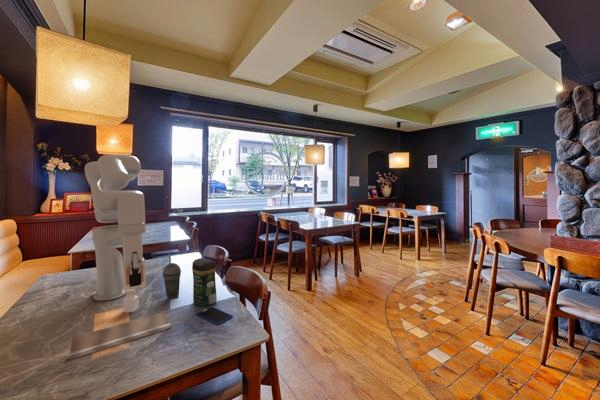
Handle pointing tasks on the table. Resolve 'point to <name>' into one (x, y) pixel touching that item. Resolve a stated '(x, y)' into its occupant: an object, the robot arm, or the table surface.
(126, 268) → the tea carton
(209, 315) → the cell phone
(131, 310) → the pepper shaker
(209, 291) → the coffee jar
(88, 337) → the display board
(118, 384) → the table surface
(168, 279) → the beverage cup
